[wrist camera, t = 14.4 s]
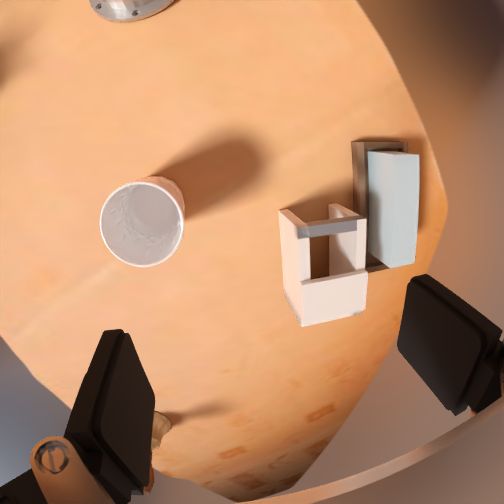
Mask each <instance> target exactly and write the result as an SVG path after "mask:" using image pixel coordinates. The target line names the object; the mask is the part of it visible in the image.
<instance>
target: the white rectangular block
mask: <svg viewBox="0 0 504 504" xmlns="http://www.w3.org/2000/svg"><path fill="white" fill-rule="evenodd" d="M368 174H369V238H368V252H369V253H370V254H372V255H373V256H374V257H376V258H377V259H378V260H380V261H381V262H382V263H384V264H385V265H386V266H388V267H389V268H395V267H399V266H404V265H408V264H412V263H414V261H415V251H416V241H417V228H418V211H419V154H412V153H404V152H397V151H368Z"/></svg>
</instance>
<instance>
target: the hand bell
mask: <svg viewBox="0 0 504 504" xmlns="http://www.w3.org/2000/svg"><path fill="white" fill-rule="evenodd" d="M170 429H171V422H170V420H169V419H168V418H167V417H166V416H164V415H163V414H161V413H158V412H155V411H154V419H153V430H152V442H151V456H150V473H149V485H148V486H147V487H144V494H150V491H151V489H152V487H153V484H154V472H153V468H152V464H151V460H152V450H156V449H158V448H159V447H160V443H161V439H162V437H163V435H165V434H166V433H168V432H169V431H170Z"/></svg>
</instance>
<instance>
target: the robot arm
mask: <svg viewBox="0 0 504 504" xmlns="http://www.w3.org/2000/svg"><path fill="white" fill-rule="evenodd" d="M89 1H90V4H91V7H92V8H93V10H94V11H95V12H96V13H97V14H98V15H99V16H100V17H102V18H104V19H106V20H109V21H112V22H132V21H137V20H141V19H144V18H147V17H150V16H152V15H154V14H156V13H158V12H160V11H162V10H163V9H165V8H166V7H168V6H169V5H170V4H171V3H172V2H174V0H89ZM137 14H138V15H137ZM135 15H136V16H135ZM501 333H502V330H501V329H500V328H499V327H498V326H496V325H495V324H494V323H492V322H491V321H490V320H489V319H487V318H486V317H485V316H484V315H482V314H481V313H480V312H478V311H477V310H476V309H475V308H473V307H472V306H471V305H469V304H468V303H467V302H465V301H464V300H463V299H461V298H460V297H459V296H457V295H456V294H454V293H453V292H452V291H450V290H449V289H447V288H446V287H445V286H443V285H442V284H441V283H439V282H438V281H436V280H435V279H434V278H432V277H431V276H429V275H427V274H423V275H419V276H415V277H413V278H412V279H411V280H410V282H409V283H408V285H407V291H406V297H405V304H404V309H403V315H402V321H401V326H400V331H399V336H398V341H397V347H398V350H399V352H400V353H401V354H402V355H403V357H404V358H405V359H406V360H407V361H408V363H409V364H410V365H411V366H412V367H413V369H414V370H415V371H416V372H417V373H418V375H419V376H420V377H421V378H422V379H423V381H424V382H425V383H426V384H427V385H428V387H429V388H430V389H431V390H432V392H433V393H434V394H435V395H436V397H437V398H438V399H439V400H440V402H441V403H442V404H443V405H444V407H445V408H446V409H447V410H451V411H452V413H453V414H454V415H455V416H456V415H458V414H460V413H461V412H463V411H465V410H466V409H467V406H468V405H469V406H470V408H471V418H470V419H468V420H467V421H466V422H464V423H462V424H460V425H459V426H457V427H456V428H454V429H452V430H451V431H449V432H447V433H445V434H444V435H442V436H440V437H438V438H436V439H435V440H433V441H431V442H429V443H427V444H425V445H423V446H421V447H419V448H417V449H415V450H413V451H411V452H409V453H407V454H405V455H403V456H400V457H398V458H396V459H394V460H392V461H389V462H387V463H384V464H382V465H380V466H377V467H375V468H372V469H370V470H367V471H364V472H362V473H359V474H356V475H353V476H350V477H347V478H345V479H342V480H339V481H335V482H332V483H329V484H326V485H322V486H319V487H315V488H311V489H307V490H304V491H300V492H295V493H291V494H287V495H282V496H277V497H273V498H267V499H262V500H256V501H249V502H242V503H235V504H504V339H503V341H502V342H501V341H500V340H499V338H500V336H501ZM154 408H155V395H154V392H153V390H152V387H151V385H150V383H149V381H148V378H147V376H146V374H145V372H144V369H143V367H142V364H141V362H140V360H139V357H138V355H137V352H136V350H135V347H134V344H133V342H132V339H131V337H130V335H129V333H124V331H123V330H122V329H116V330H106V331H104V332H103V334H102V336H101V339H100V341H99V344H98V346H97V348H96V351H95V353H94V356H93V358H92V361H91V363H90V366H89V368H88V371H87V373H86V375H85V376H84V379H83V381H82V384H81V387H80V389H79V392H78V395H77V398H76V400H75V403H74V406H73V409H72V412H71V415H70V418H69V421H68V424H67V428H66V430H65V434H64V437H58V436H52V437H47V438H45V439H43V440H41V441H40V442H38V443H37V444H36V446H35V447H34V448H33V450H32V453H31V456H30V463H31V469H30V470H28V471H27V472H25V473H23V474H21V475H20V476H18V477H16V478H15V479H13V480H11V481H10V482H8V483H6V484H5V485H3V486H1V487H0V504H130V503H129V502H130V501H131V495H143V494H144V487H147V486H148V485H149V473H150V456H151V442H152V430H153V419H154Z"/></svg>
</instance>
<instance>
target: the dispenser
mask: <svg viewBox="0 0 504 504" xmlns="http://www.w3.org/2000/svg"><path fill="white" fill-rule="evenodd" d="M328 211H329V219H326V220H319V221H311V222H303V221H302V220H301V219H299V218H298V217H297V216H296V215H294V214H293V213H292V212H291V211H290V210H288V209H284V210H278V212H279V225H280V238H281V252H282V267H283V282H284V295H285V297H286V299H287V301H288V303H289V305H290V307H291V309H292V311H293V313H294V314H295V316H296V318H297V320H298V322H299V324H300V326H301V327H304V326H309V325H313V324H318V323H322V322H327V321H331V320H335V319H340V318H344V317H348V316H352V315H356V314H360V313H361V312H362V310H365V304H366V293H367V280H368V272H367V271H366V270H365V255H366V223H367V219H366V218H364V217H362V216H361V215H359V214H357V213H355V212H353V211H351V210H349V209H347V208H345V207H343V206H341V205H339V204H337V203H334V204H328ZM324 235H329V276H328V277H323V278H318V279H312V280H310V244H309V238H310V237H317V236H324Z"/></svg>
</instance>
